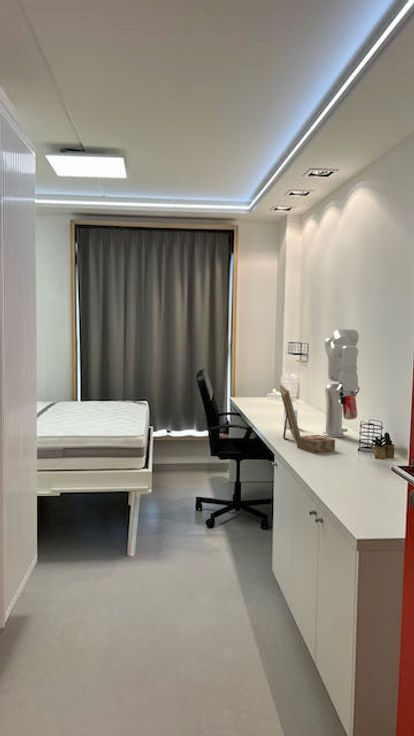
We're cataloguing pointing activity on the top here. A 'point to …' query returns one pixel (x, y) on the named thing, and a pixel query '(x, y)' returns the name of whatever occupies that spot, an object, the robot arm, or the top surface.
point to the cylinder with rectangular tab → (287, 419)
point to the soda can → (350, 407)
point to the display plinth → (316, 443)
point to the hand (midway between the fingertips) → (347, 403)
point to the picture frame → (289, 413)
